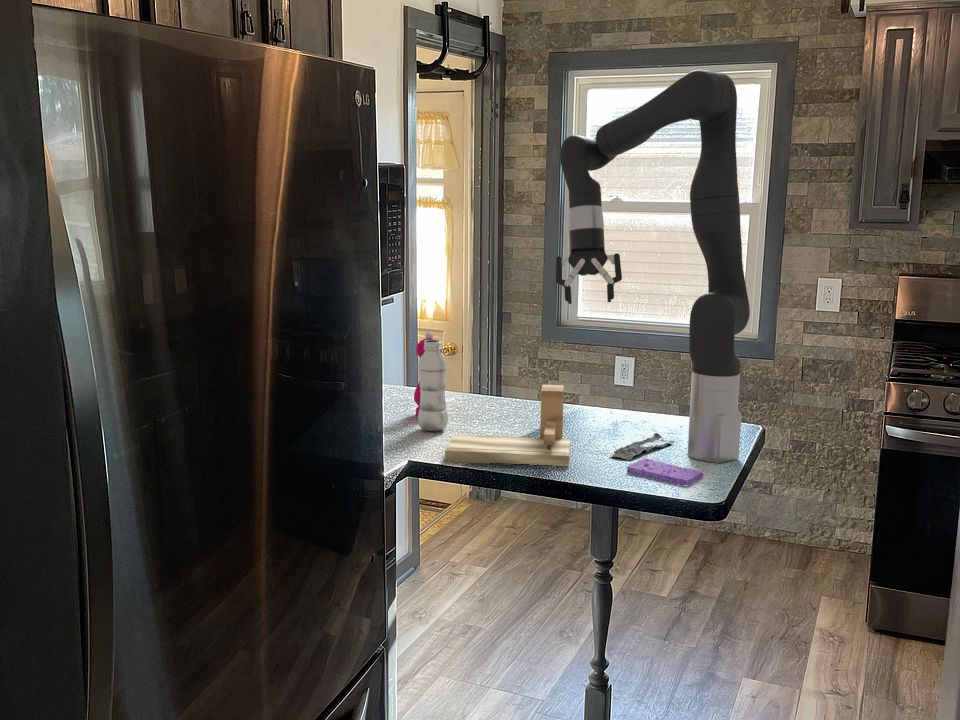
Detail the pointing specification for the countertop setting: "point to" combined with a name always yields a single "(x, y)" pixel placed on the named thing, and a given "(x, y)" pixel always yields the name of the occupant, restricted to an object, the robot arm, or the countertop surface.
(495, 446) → the pine board
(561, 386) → the block
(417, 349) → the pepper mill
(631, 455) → the driftwood
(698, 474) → the sponges
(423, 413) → the plastic bottle
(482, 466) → the countertop surface
